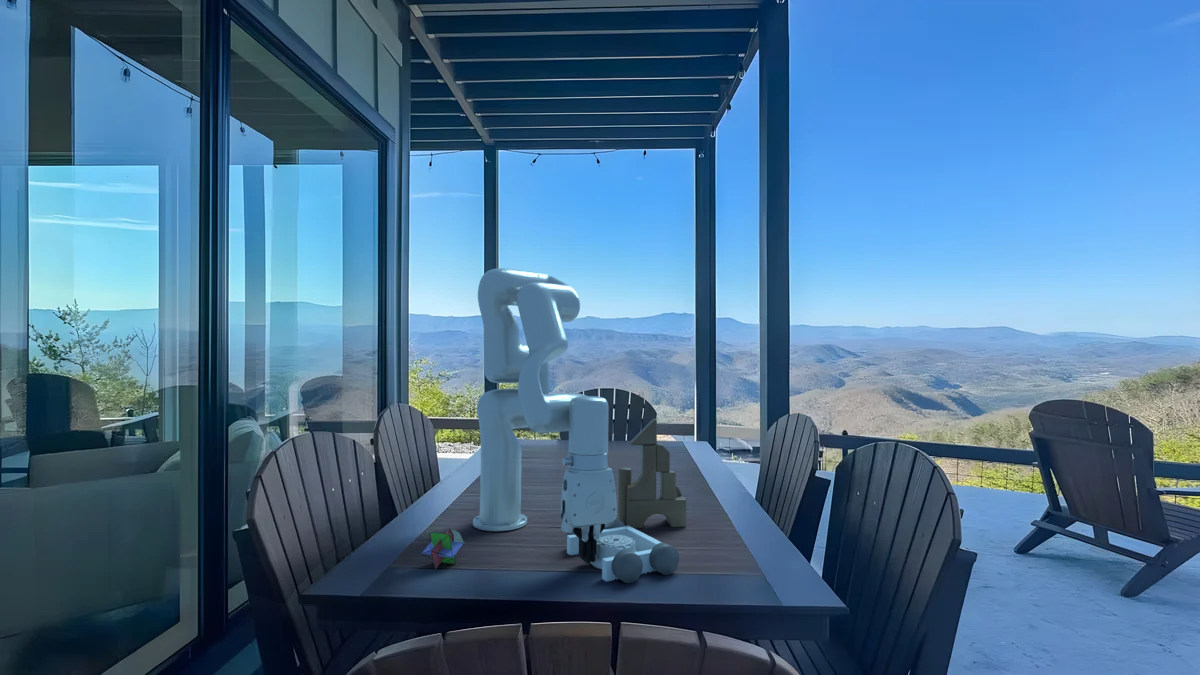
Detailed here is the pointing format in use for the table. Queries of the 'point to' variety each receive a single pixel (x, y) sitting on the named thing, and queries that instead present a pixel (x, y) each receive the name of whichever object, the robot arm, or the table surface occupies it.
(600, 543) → the mechanical component
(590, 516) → the robot arm
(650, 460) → the wooden toy
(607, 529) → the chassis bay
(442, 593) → the table surface
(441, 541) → the geometric puzzle
